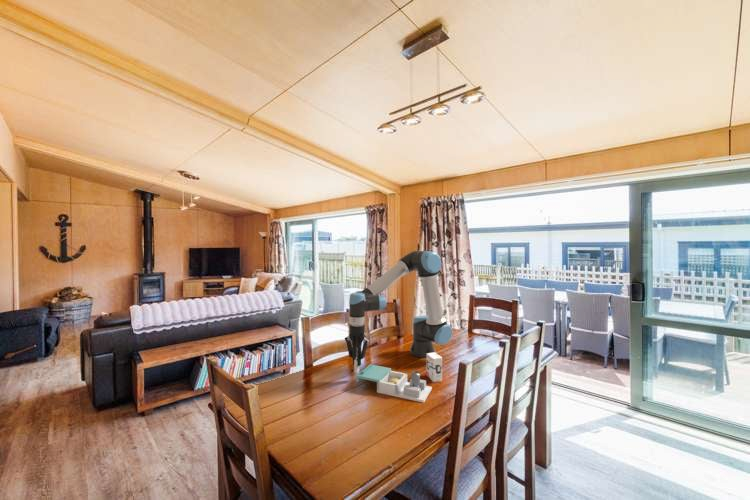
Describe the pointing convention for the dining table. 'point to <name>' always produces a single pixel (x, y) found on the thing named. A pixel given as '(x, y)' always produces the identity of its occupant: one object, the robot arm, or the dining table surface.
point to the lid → (373, 373)
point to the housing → (403, 387)
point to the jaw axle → (415, 379)
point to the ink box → (434, 367)
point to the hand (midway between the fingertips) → (356, 371)
